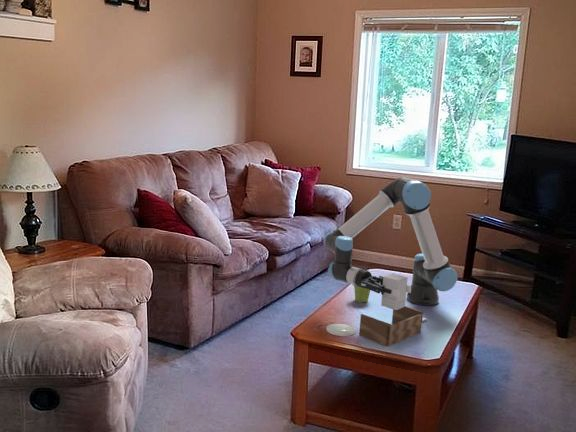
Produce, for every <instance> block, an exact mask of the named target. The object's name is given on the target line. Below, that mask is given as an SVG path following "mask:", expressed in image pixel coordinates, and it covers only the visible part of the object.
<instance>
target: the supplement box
mask: <svg viewBox="0 0 576 432" xmlns="http://www.w3.org/2000/svg"><path fill="white" fill-rule="evenodd" d="M408 278H409V277H408V276H405V275H401V274H396V273H389V274H388V275H384V276H383V286H384V288H385V286H388V287H391V288H394V289H397V290H400V294H399V297H396V296H393V295H390V294H387V293H385V292H384V295H382V294H381V303H380V305H381V307H385V308H386V309H387V308H388V309H391V310H392V311H393V310H398V309H400V308H403V307H405V306H406V302H407V301H406V300H407V292H406V290H407V285H408Z"/></svg>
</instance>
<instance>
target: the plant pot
mask: <svg viewBox="0 0 576 432" xmlns="http://www.w3.org/2000/svg"><path fill="white" fill-rule="evenodd" d="M353 288H354V300H355V301H356V302H357V303H367V302H369V298H370V293H371V290H369V289H366V288H361V287H358V286H353Z"/></svg>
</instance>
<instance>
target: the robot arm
mask: <svg viewBox="0 0 576 432" xmlns="http://www.w3.org/2000/svg"><path fill="white" fill-rule="evenodd" d="M431 199H432V193H431V190H430V188H429V186H428V185H426V184H425V183H424V182H422V181H420V180H415V179H412V178H410V177H406V176H402V177H401V176H400V177H398V178H395V179H394V180H392V181H390V182H389V183H387V184H386V185H385V186H384V187H383V188H381V189H380V190H379V192H378V195H377V196H376V197H374V198H373V199H372V200H371V201H369V202H368V203H367V204H366V205H365V206H363V207H362V208H361V209H360V210H359V211H357V212H356V213H355V214H354V215H353V216H352V217H350V218H349V219H348V220H347V221H346V222H345V223H343V224H342V225H341V226H340V227H338V228H337V229H336V230H335V231H334V232H328V233H326V234H325V235H324V237H323V245H324V246H325V248H326V249H327V250H328V251H331V253H333V254H334V260H333V261H332V262H331V263H329V264H328V268H327V274H328V276H329V277H330V278H332V279H333V280H334V279H335V280H336V281H341V282H344V283H346V284H349V285H351V286H353V287H354V286H358V287H361V288H366V289H369V290H370V292H374V293H377V294H381V296H382V295H384V292H385V293H387V294H390V295H393V296H396V297H399V294H400V290H397V289H394V288H391V287H388V286H385V288H384V286H383V277H384V276H383V275H379V276H376V275H372V273H371V271H370V270H366V269H362V268H359V267H356V266H353V265H352V260H353V248H354V242H353V241H354V240H353V238H355V237H356V236H358V234H360V233H361V232H362V231H363V230H364V229H365V228H367V227H368V226H369V225H371V224H372V223H373V222H374V221H376V219H377V218H379V217H380V216H381V215H382V214H383V213H384V212H386V211H387V210H388V209H390V208H395V206H396V205H398V204H401V205H402V209H403V212H404V214H405V215H407V216H409V218H410V219H409V220H410V221H411V224H412V228H413V230H414V232H415V235H416V239H417V241H418V244H419V247H420V251H421V253H417V254H416V255H414V259H413V266H412V267H413V269H412V280H411V284H410V285H409V284H407V290H406V300H407V301H408V302H410V303H413V304H416V305H418V306H419V305H421V306H434V305H437V304H439V301H440V296H439V292H448V291H450V290H452V289H453V288H454V287H455V285H456V284H457V281H458V273H457V271H456V269H454V268H452V267H451V263H450V261H449V258H448V257H447V256H446V255H444V253H443V250H442V247H441V244H440V241H439V239H438V235H437V232H436V229H435V226H434V223H433V219H432V217H431V214H430V211H429V209H430V207H431V201H430V200H431ZM438 291H439V292H438Z"/></svg>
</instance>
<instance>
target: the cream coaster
mask: <svg viewBox="0 0 576 432" xmlns="http://www.w3.org/2000/svg"><path fill="white" fill-rule="evenodd" d="M326 332H327V333H328V334H331V335H334V336H335V337H336V336H337V337H351V336H353V335H355V334H356V329H355V328H354V326H352V325H348V324H344V323H331V324H329V325H327V326H326Z"/></svg>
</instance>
